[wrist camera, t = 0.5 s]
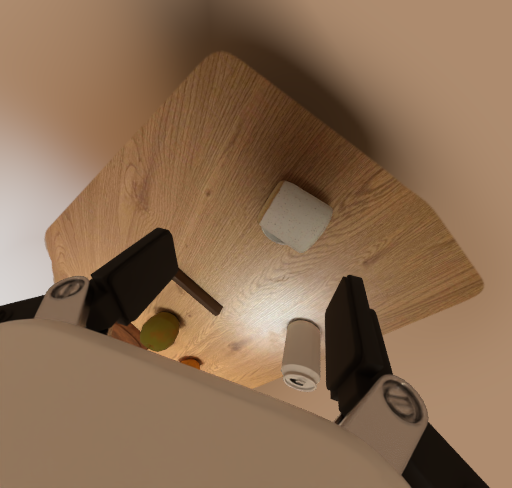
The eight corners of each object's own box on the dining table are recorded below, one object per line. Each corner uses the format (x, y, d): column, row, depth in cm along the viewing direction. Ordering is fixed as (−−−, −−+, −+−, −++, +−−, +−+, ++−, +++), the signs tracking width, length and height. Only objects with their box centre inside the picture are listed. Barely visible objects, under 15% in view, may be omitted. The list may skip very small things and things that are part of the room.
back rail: (162, 253, 45) (155, 259, 43) (222, 307, 50) (219, 314, 48) (156, 259, 47) (149, 265, 45) (215, 310, 52) (211, 317, 50)
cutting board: (117, 305, 66) (111, 311, 64) (161, 356, 82) (157, 362, 80) (62, 300, 78) (56, 305, 76) (111, 346, 93) (106, 351, 91)
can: (282, 327, 48) (272, 380, 38) (299, 313, 43) (292, 369, 34) (307, 341, 48) (304, 397, 39) (327, 329, 44) (329, 389, 34)
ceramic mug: (284, 170, 27) (273, 187, 21) (333, 199, 28) (335, 225, 22) (253, 224, 34) (238, 249, 28) (293, 247, 34) (287, 277, 28)
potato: (174, 357, 79) (163, 376, 73) (194, 353, 71) (183, 374, 66) (187, 367, 81) (177, 386, 75) (208, 364, 73) (198, 385, 68)
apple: (154, 315, 63) (127, 347, 54) (160, 301, 57) (131, 335, 48) (181, 330, 64) (159, 365, 55) (189, 318, 58) (166, 355, 49)
